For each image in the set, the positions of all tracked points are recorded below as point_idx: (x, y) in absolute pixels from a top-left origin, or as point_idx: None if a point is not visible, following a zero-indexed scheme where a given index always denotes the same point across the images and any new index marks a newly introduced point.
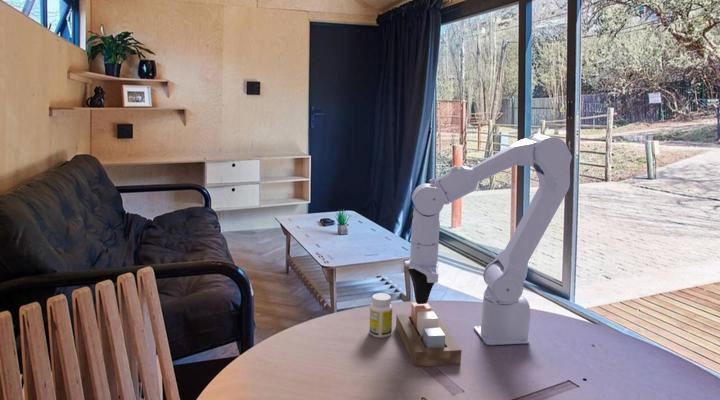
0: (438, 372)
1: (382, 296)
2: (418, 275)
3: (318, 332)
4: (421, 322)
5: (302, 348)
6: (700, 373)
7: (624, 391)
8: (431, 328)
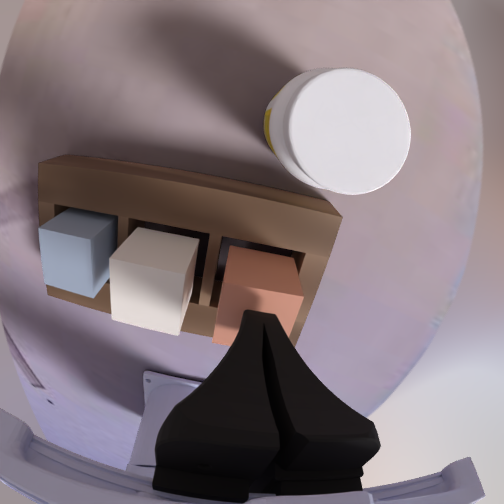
0: None
1: (353, 137)
2: (158, 454)
3: None
4: (117, 250)
5: None
6: None
7: (34, 409)
8: (87, 267)
